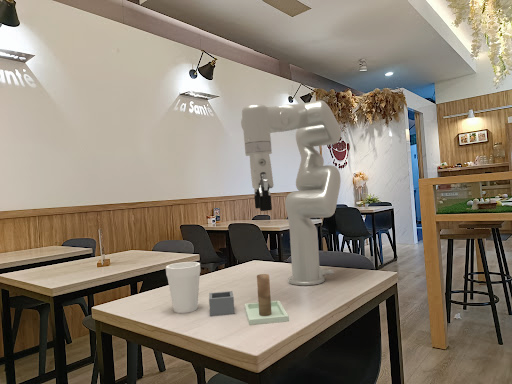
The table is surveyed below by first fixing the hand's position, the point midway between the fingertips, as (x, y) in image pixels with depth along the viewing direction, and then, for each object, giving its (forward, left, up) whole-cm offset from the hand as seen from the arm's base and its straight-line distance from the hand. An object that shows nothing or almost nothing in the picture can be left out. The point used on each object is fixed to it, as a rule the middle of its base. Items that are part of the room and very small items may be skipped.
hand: (263, 209), depth 110 cm
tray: (+3, +11, -27) cm, 29 cm away
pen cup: (+14, +5, -27) cm, 31 cm away
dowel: (+3, +11, -27) cm, 29 cm away
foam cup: (+24, 0, -27) cm, 36 cm away
